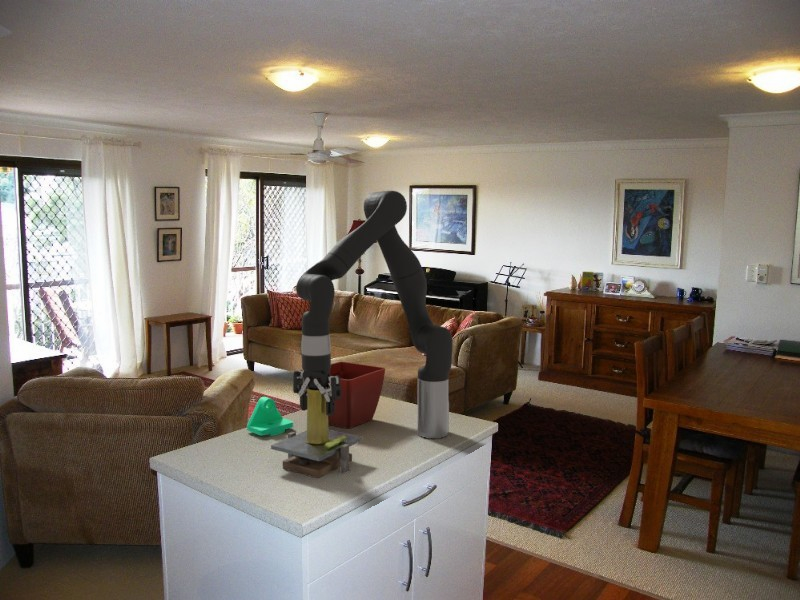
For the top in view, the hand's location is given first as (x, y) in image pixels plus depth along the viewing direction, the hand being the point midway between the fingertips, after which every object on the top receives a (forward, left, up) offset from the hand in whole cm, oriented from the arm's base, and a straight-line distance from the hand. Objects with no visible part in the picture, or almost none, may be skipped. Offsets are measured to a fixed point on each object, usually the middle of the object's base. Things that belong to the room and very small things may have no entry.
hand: (317, 412), depth 173 cm
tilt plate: (0, 0, -8) cm, 8 cm away
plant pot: (-34, -17, -14) cm, 41 cm away
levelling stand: (0, 0, -14) cm, 14 cm away
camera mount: (-13, -30, -15) cm, 36 cm away
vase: (0, 0, -8) cm, 8 cm away
